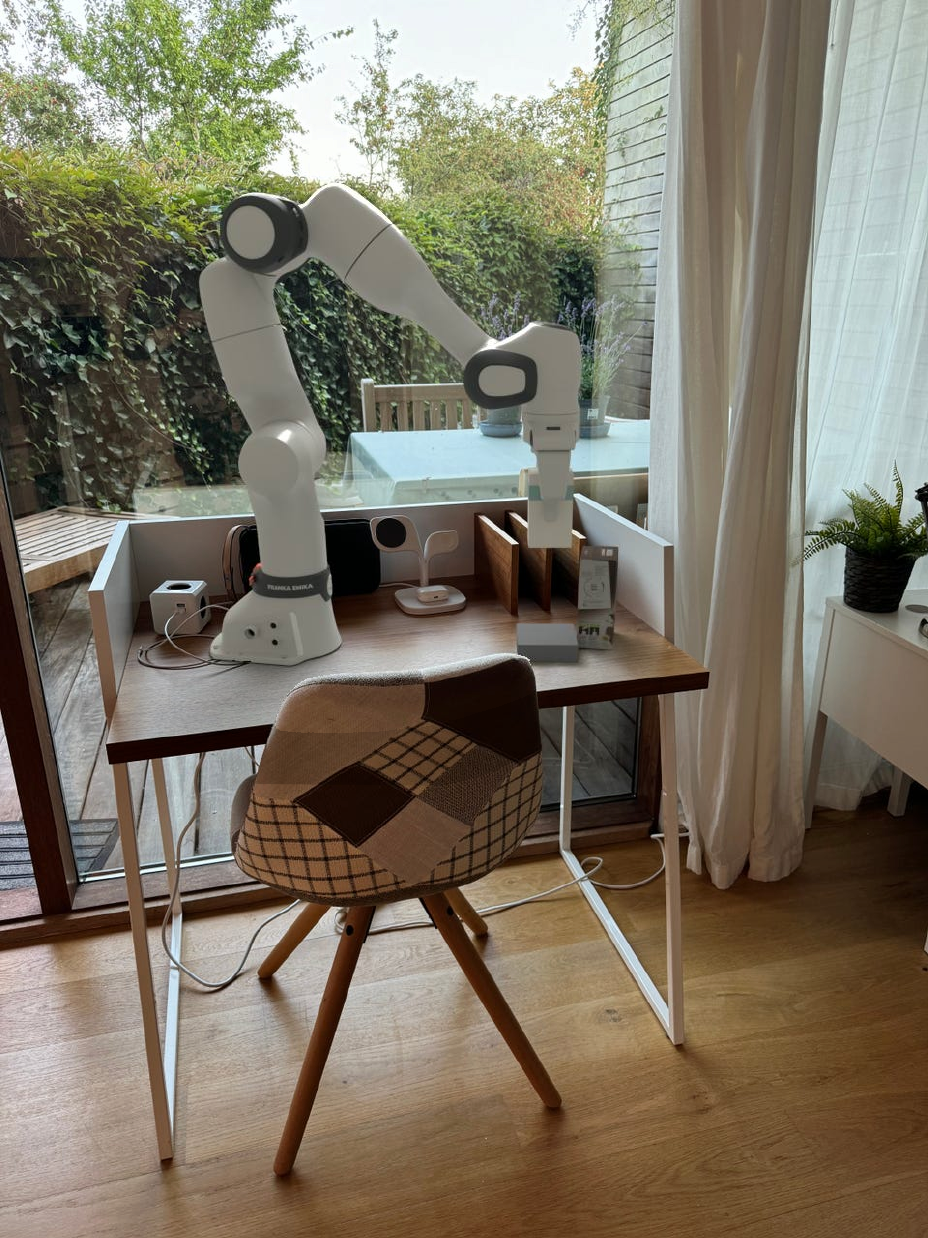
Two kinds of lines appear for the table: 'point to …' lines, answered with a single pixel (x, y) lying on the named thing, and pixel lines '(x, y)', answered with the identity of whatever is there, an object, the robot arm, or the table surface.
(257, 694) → the table surface
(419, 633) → the table surface
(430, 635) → the table surface
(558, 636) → the podium
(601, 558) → the coffee box
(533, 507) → the carton
